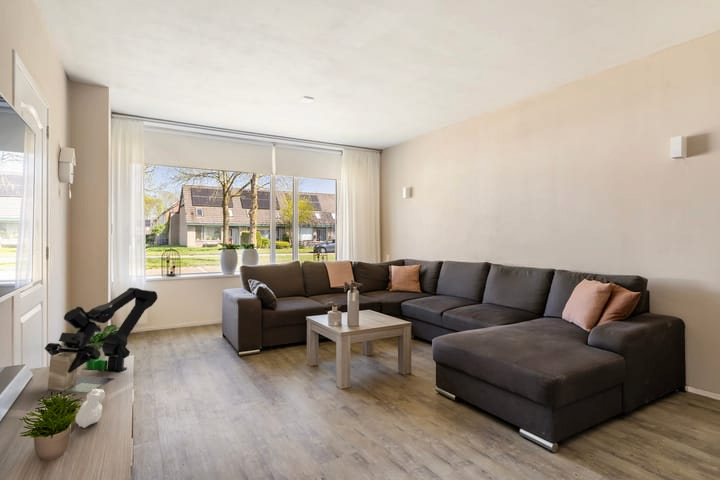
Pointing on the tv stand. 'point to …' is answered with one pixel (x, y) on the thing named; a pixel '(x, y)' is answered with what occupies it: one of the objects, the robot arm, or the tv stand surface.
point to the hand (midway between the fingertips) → (59, 371)
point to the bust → (90, 408)
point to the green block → (97, 364)
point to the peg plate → (85, 384)
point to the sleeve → (61, 371)
